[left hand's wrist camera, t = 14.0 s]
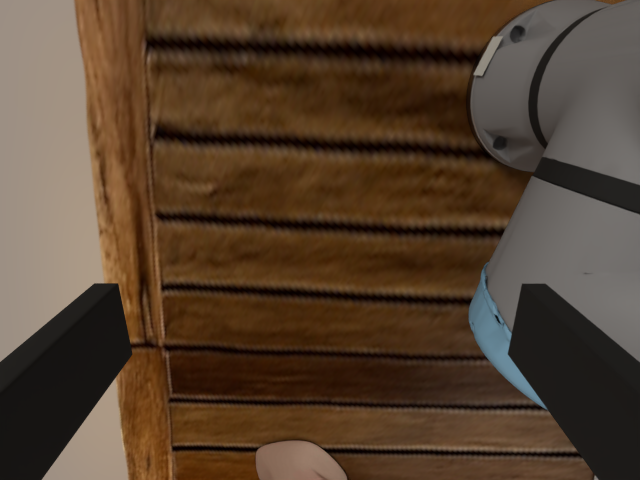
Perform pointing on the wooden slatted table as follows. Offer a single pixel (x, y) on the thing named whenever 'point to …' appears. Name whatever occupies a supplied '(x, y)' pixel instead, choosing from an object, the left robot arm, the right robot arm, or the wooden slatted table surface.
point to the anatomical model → (296, 462)
